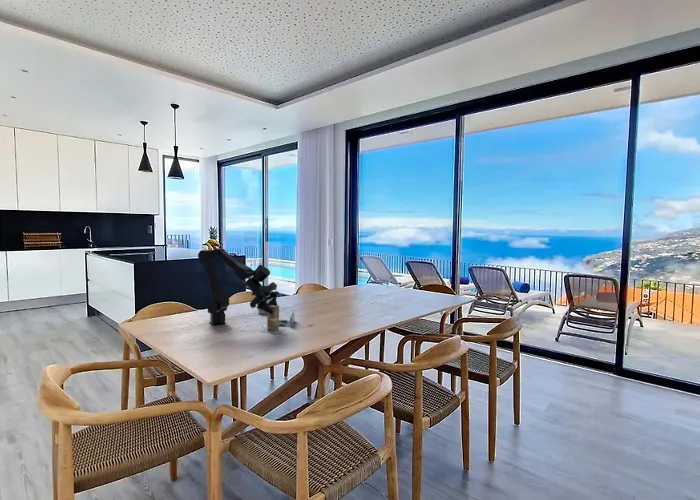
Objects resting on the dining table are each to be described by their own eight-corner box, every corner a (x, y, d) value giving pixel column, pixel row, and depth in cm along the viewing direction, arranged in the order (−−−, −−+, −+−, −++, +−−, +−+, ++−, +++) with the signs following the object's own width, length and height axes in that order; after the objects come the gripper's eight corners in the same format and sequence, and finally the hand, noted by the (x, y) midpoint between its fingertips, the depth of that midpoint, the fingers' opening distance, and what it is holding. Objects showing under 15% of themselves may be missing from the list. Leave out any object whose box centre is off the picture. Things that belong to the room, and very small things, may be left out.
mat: (259, 332, 178) (259, 331, 178) (270, 327, 187) (270, 326, 187) (276, 334, 175) (276, 333, 175) (285, 330, 184) (285, 329, 184)
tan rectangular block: (267, 330, 180) (267, 306, 179) (271, 328, 184) (271, 304, 183) (274, 331, 178) (274, 307, 177) (278, 329, 182) (279, 305, 181)
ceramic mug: (257, 315, 212) (258, 302, 212) (256, 311, 220) (257, 299, 219) (276, 314, 215) (276, 301, 215) (274, 311, 223) (275, 298, 223)
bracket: (274, 327, 187) (274, 317, 187) (278, 321, 199) (278, 312, 199) (291, 327, 188) (291, 318, 187) (294, 321, 200) (294, 312, 199)
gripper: (255, 280, 172) (275, 305, 169) (276, 275, 189) (295, 298, 186) (241, 295, 175) (260, 320, 172) (263, 289, 192) (281, 312, 189)
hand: (275, 312), depth 180 cm, fingers open, 5 cm apart
